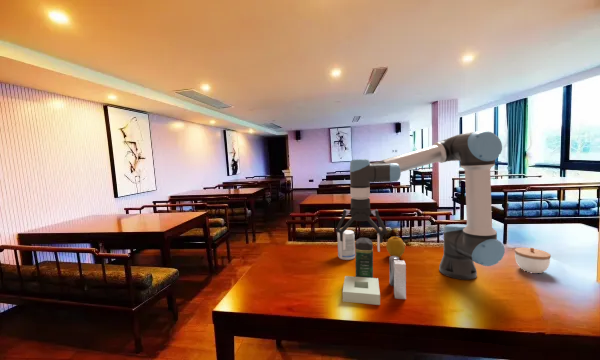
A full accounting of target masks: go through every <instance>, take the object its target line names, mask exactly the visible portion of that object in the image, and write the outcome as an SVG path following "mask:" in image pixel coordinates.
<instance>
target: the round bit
mask: <svg viewBox="0 0 600 360" xmlns="http://www.w3.org/2000/svg"><path fill="white" fill-rule="evenodd" d="M388 259H389V262H388V263H389V285H390V286H391V287H394V260H400V258H399V257H396V256H391V255H390V256H389V258H388Z"/></svg>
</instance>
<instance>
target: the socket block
mask: <svg viewBox="0 0 600 360" xmlns="http://www.w3.org/2000/svg"><path fill="white" fill-rule="evenodd" d="M379 283H380V282H379V278H378V277H377V278H376V277H373V278H366V277H356V276H352V275H351V276H350V275H345V276H344V281H343V286H342V302H343V303H346V302H347V303H357V304H366V305H374V306H375V305H376V306H380V305H381V292H380V291H381V290H380V284H379Z"/></svg>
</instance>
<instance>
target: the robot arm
mask: <svg viewBox="0 0 600 360" xmlns="http://www.w3.org/2000/svg"><path fill="white" fill-rule="evenodd" d="M502 151H503V144H502V140H501V138H500V137H499V136H498V135H497V134H496V133H494V132H492V131H487V130H481V131H480V130H478V131H473V132H472V131H471V132H466V133H460V134H456V135H453V136H451V137H448V138H446V139H442V140H439V141H436V142H434V143H433V145H430V146H426V147H424V148H419V149H417V150H414V151H409V152H406V153H403V154H399V155H394V156H392V157H389V158H386V159H382V160H378V161H374V162H370V160H369V158H368V159H367V158H361V159H359V158H358V159H352V160H351V161H350V164H349V177H350V178H349V179H350V180H349V181H350V197H351V198H350V210H349V209H346V208H344V209H343V210H342V216H341V218H340V220H339V222H338V224H337V226H336V228H335V232H336V233H337V232H338V233H340V241H343V250H345V233H344V231H345V230H348V228H349V226H350V225H351V224H352V223H353V222H354V221H356V222H366V221H367V222H368V223H369V224H370V226H371V227H373V229H374V230H375V231H376V232H377V234H376V235H377V239H376V241H377V247H376V248H377V252H379V253H380V252H381V247H380V246H381V245H380V244H382V243H383V242H384V240H383V237H384V236H383V235H387V234H388V229H387V228H386V226H385V225H384V223H383V220H382V219H381V216H380V215H379V210H378V209H377V208H376V209H374V210H373V209H372V210H371V199H370V197H371V196H370V195H371V192H370V191H371V190H370V188H371V186H370V184H372V183H393V182H398V181H399V180H400V178H401V175H402V174H401V173H402V172H406V171H409V170H414V169H417V168H420V167H424V166H427V165H431V164H434V163H435V164H436V163H440V164H441V163H442V164H443V163H446V162H452V161H453V162H454V161H455V162H458V161H460V162H459V163H460V167H461V168H462V169H463V170H464V181H465V184H464V185H465V205H466V206H465V210H466V212H465V213H466V224H463V223H462V224H460V223H455V224H454V223H452V224H451V223H450V224H446V225H445V226H443V227H444V228H443V255H442V258H441V260H440V263H439V266H438V267H439V272H440V273H441V274H442V275H444V276H446V277H449V278H452V279H456V280H473V279H476V278H477V277H478V271H477V268H476V265H475V264H477V265H481V266H484V267H492V266H495V265H496V264H498V263H500V261H501V260H503V258H504V256H505V250H506V249H505V245H504V244H503V243H502V242H501V241H500V240H499V239H498V232H497V230H496V229H495V228H493V223H492V219H493V217H492V188H491V187H492V184H491V183H492V182H491V181H492V180H491V179H492V178H491V169H492V168H493V167H494V166H496V159H497V158H499V155H501V154H502ZM348 215H350V216H351V217H350V218H349V220H348V221H347V222H346V223H345V225H344V226H342V224H343V223H344V220H345V219H346V217H347V216H348ZM371 215H373V216H374V217H375V218H376V220H377V222H378V224H379V225H380V227H381V228H380V227H378V225H377V224H376V223H375V222H374V221H373V220H372V218H371V217H370V216H371ZM341 226H342V228H341ZM338 233H337V234H338Z"/></svg>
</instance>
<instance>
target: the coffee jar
mask: <svg viewBox="0 0 600 360" xmlns="http://www.w3.org/2000/svg"><path fill="white" fill-rule="evenodd" d="M373 247H374V245H373V241H372V240H371V239H370V238H369V237H359V238H358V239H356V240H355V277H366V278H374V248H373Z"/></svg>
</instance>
